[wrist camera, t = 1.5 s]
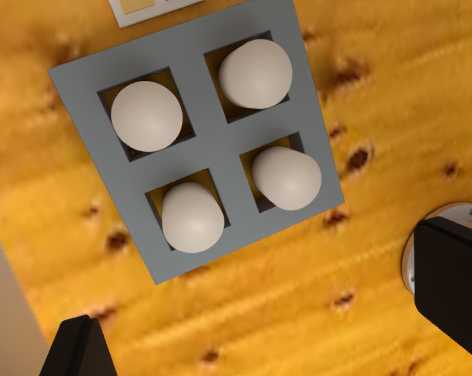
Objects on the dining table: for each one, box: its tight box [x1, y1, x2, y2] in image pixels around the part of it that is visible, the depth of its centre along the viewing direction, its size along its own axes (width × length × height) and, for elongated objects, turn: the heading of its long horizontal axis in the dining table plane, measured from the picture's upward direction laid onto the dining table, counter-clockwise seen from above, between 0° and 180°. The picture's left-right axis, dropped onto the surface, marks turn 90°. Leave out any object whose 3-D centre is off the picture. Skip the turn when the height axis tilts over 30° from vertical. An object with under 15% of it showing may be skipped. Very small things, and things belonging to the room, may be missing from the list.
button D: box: [162, 182, 224, 253], centre depth 26 cm, size 4×4×4 cm
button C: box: [111, 81, 183, 152], centre depth 23 cm, size 4×4×4 cm
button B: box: [251, 146, 321, 210], centre depth 27 cm, size 4×4×4 cm
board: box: [47, 0, 345, 285], centre depth 27 cm, size 18×18×3 cm
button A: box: [218, 39, 292, 109], centre depth 24 cm, size 4×4×4 cm
